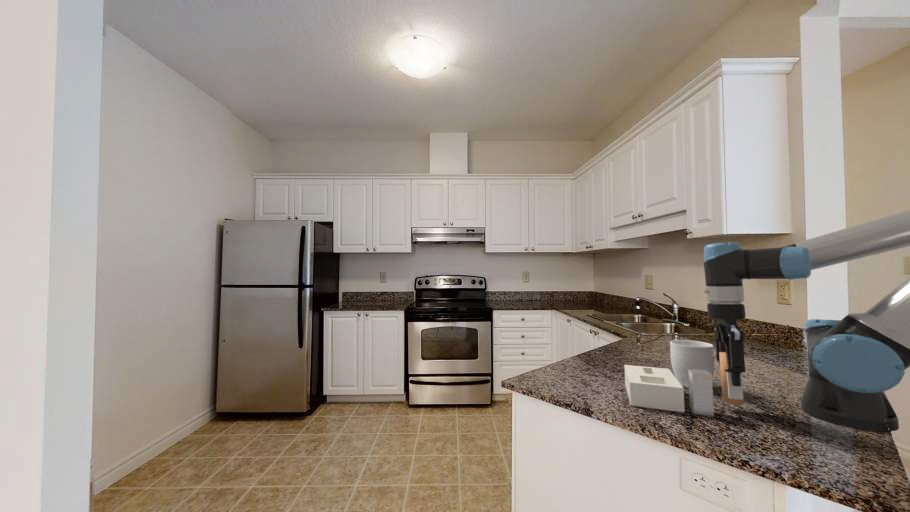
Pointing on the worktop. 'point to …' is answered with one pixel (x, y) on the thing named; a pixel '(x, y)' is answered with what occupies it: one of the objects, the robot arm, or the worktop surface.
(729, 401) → the dowel
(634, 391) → the socket block
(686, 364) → the mug
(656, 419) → the worktop surface
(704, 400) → the square bit
